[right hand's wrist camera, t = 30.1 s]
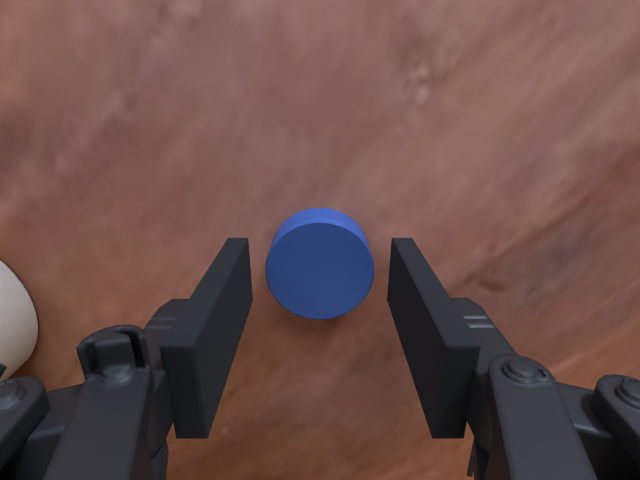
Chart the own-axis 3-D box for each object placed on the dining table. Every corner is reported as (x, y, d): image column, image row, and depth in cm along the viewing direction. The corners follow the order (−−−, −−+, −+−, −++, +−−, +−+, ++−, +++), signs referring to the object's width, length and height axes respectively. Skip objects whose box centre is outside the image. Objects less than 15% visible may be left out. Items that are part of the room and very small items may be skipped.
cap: (273, 296, 17) (268, 319, 15) (269, 207, 15) (262, 221, 14) (365, 296, 17) (371, 319, 15) (370, 207, 15) (377, 222, 14)
